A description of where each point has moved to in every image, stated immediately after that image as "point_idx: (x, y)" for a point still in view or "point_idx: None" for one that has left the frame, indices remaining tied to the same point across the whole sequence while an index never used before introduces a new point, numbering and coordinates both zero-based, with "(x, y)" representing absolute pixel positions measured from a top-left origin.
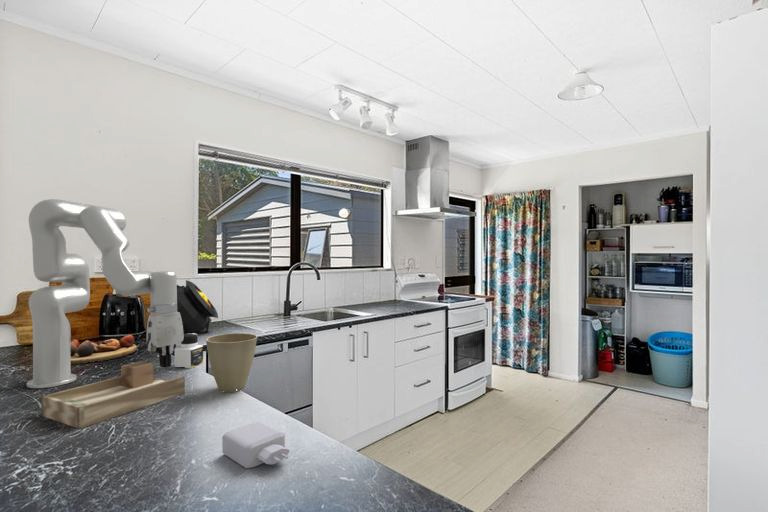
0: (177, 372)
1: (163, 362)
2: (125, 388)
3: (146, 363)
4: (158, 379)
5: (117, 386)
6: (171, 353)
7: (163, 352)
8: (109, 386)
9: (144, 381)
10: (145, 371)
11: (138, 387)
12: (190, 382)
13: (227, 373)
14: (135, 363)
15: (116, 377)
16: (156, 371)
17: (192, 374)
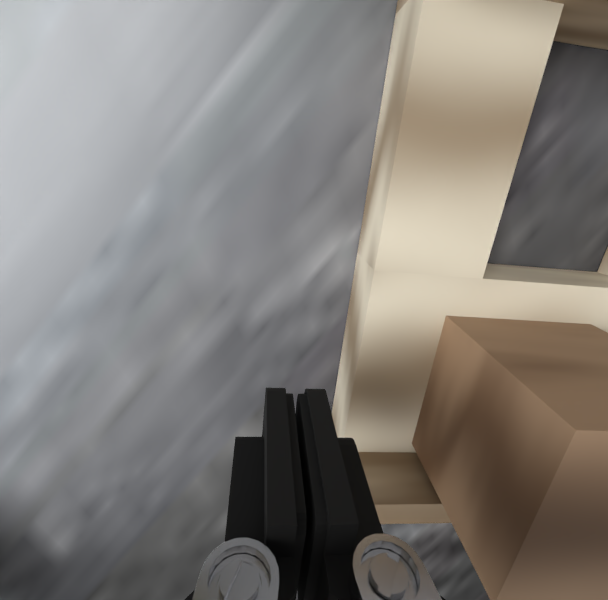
0: (46, 493)
1: (348, 453)
2: None
3: (588, 488)
4: (359, 356)
5: None
6: (237, 543)
7: (420, 597)
8: None
9: (535, 333)
10: (599, 381)
11: (563, 314)
12: (152, 206)
13: None
14: (591, 572)
15: None
16: (114, 594)
17: (3, 371)
